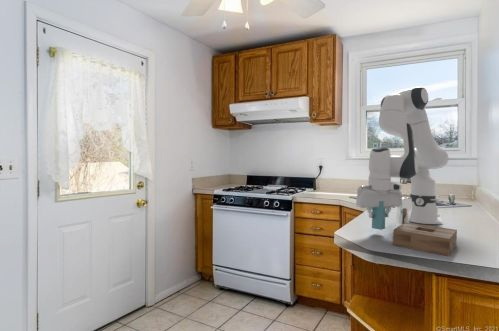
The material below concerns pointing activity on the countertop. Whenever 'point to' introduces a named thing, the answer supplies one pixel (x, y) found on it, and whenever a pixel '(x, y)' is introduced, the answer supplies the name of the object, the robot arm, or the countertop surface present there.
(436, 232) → the socket block
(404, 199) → the beer glass
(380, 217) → the peg
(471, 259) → the countertop surface
